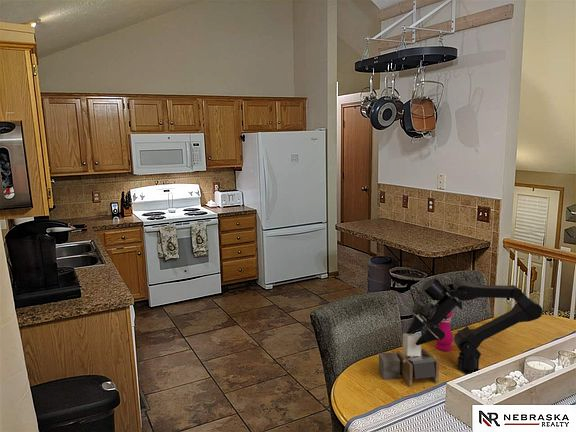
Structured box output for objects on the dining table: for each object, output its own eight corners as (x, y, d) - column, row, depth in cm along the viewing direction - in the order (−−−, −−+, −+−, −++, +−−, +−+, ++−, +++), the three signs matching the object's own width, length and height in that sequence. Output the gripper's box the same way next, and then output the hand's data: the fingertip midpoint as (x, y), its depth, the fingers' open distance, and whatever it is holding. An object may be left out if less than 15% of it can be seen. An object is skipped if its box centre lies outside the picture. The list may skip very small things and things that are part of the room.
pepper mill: (431, 344, 187) (432, 299, 184) (448, 343, 188) (449, 298, 185) (438, 352, 180) (440, 305, 177) (456, 351, 181) (457, 304, 178)
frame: (425, 368, 168) (425, 347, 167) (439, 383, 158) (440, 361, 156) (395, 371, 166) (395, 351, 165) (408, 387, 156) (408, 365, 154)
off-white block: (415, 353, 168) (416, 334, 169) (420, 356, 163) (421, 336, 163) (402, 352, 168) (403, 333, 169) (407, 355, 163) (407, 336, 163)
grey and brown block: (420, 369, 168) (418, 353, 169) (436, 376, 156) (434, 358, 157) (400, 372, 167) (398, 355, 168) (414, 379, 154) (412, 360, 155)
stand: (394, 369, 168) (394, 352, 167) (399, 378, 161) (400, 360, 160) (378, 370, 167) (378, 353, 166) (383, 379, 161) (383, 361, 160)
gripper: (417, 286, 171) (389, 315, 172) (437, 303, 153) (405, 336, 154) (437, 305, 173) (409, 333, 174) (458, 324, 155) (427, 356, 156)
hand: (411, 339), depth 164 cm, fingers open, 9 cm apart
